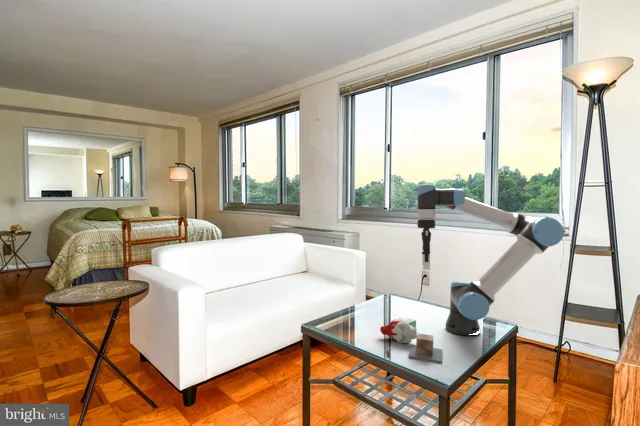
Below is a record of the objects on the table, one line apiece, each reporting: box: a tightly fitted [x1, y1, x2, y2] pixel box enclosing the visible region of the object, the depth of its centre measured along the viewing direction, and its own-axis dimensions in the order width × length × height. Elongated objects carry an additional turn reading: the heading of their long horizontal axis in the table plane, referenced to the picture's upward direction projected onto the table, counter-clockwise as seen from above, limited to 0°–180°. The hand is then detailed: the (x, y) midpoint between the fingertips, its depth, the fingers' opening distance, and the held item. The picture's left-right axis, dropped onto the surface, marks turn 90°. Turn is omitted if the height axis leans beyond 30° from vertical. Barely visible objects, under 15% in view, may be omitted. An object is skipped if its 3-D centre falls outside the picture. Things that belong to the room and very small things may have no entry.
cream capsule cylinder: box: [397, 316, 409, 323], centre depth 159 cm, size 5×5×6 cm
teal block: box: [408, 317, 417, 329], centre depth 164 cm, size 4×6×4 cm, turn 131°
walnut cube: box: [415, 332, 434, 357], centre depth 134 cm, size 6×6×6 cm
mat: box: [408, 344, 443, 365], centre depth 134 cm, size 12×12×1 cm
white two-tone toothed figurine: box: [379, 318, 418, 344], centre depth 149 cm, size 9×11×15 cm
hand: (425, 267), depth 153 cm, fingers open, 13 cm apart
